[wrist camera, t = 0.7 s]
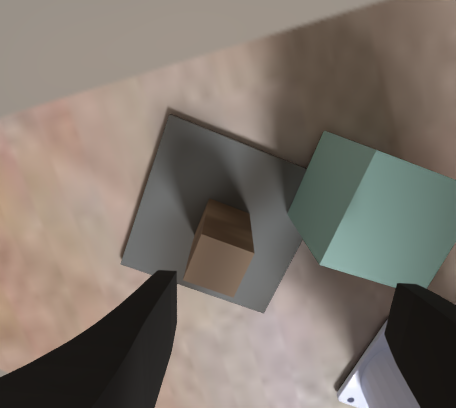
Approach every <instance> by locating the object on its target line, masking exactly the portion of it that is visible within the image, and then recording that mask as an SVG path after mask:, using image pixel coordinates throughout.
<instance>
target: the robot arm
mask: <svg viewBox="0 0 456 408" xmlns="http://www.w3.org/2000/svg"><path fill="white" fill-rule="evenodd" d="M176 325H177V271H169V270H158V271H156V272H155V273H154V274H153V275H152V276H151V277H150V278H149V279H148V280H147V281H145V282H144V283H143V284H142V285H141V286H140V287H139V288H138V289H137V290H136V291H135V292H134V293H132V294H131V295H130V296H129V297H128V298H127V299H126V300H124V301H123V302H122V303H121V304H120V305H119V306H117V307H116V308H115V309H114V310H112V311H111V312H110V313H109V314H107V315H106V316H105V317H104V318H102V319H101V320H100V321H98V322H97V323H96V324H94V325H93V326H91V327H90V328H88V329H87V330H85V331H84V332H82V333H81V334H79V335H78V336H76V337H75V338H73V339H72V340H70V341H68V342H67V343H65V344H63V345H62V346H60V347H58V348H56V349H54V350H53V351H51V352H49V353H47V354H45V355H44V356H42V357H40V358H38V359H36V360H35V361H33V362H31V363H29V364H27V365H25V366H23V367H21V368H19V369H17V370H15V371H13V372H11V373H9V374H6V375H4V376H2V377H0V408H154V407H155V404H156V401H157V398H158V394H159V391H160V388H161V385H162V381H163V378H164V375H165V372H166V368H167V365H168V362H169V359H170V355H171V352H172V347H173V341H174V336H175V330H176ZM350 397H351V398H350ZM337 398H338V400H339V401H340V402H343V403H346V404H349V405H352V406H355V407H358V408H456V305H454V304H453V303H451V302H449V301H448V300H446V299H444V298H442V297H441V296H439V295H437V294H435V293H433V292H432V291H430V290H428V289H426V288H424V287H422V286H420V285H417V284H409V283H397V286H396V290H395V294H394V297H393V301H392V305H391V309H390V313H389V317H388V320H387V321H386V322H385V323H384V325H383V326H382V328H381V329H380V331H379V332H378V334H377V335H376V337H375V338H374V339H373V341H372V342H371V344H370V345H369V347H368V348H367V350H366V351H365V353H364V354H363V355H362V357H361V358H360V360H359V361H358V363H357V364H356V366H355V367H354V369H353V370H352V371H351V373H350V374H349V376H348V377H347V379H346V380H345V382H344V383H343V385H342V386H341V387H340V389H339V390H338V392H337Z"/></svg>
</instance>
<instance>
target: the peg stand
mask: <svg viewBox="0 0 456 408" xmlns="http://www.w3.org/2000/svg"><path fill="white" fill-rule="evenodd" d="M306 170H307V169H306V168H304V167H301V166H299V165H296V164H294V163H291V162H289V161H286V160H284V159H281V158H279V157H276V156H274V155H271V154H269V153H266V152H264V151H262V150H259V149H257V148H254V147H252V146H249V145H247V144H244V143H242V142H239V141H237V140H234V139H232V138H229V137H227V136H224V135H222V134H219V133H217V132H214V131H212V130H209V129H207V128H205V127H202V126H200V125H197V124H195V123H192V122H190V121H187V120H185V119H182V118H180V117H177V116H175V115H172V114H169V117H168V120H167V123H166V127H165V130H164V133H163V136H162V139H161V142H160V145H159V148H158V151H157V154H156V157H155V160H154V163H153V166H152V169H151V172H150V176H149V179H148V182H147V185H146V188H145V191H144V194H143V197H142V200H141V203H140V206H139V209H138V212H137V215H136V218H135V221H134V224H133V228H132V231H131V234H130V237H129V240H128V243H127V246H126V249H125V252H124V255H123V258H122V261H121V265H124V266H127V267H130V268H133V269H136V270H139V271H142V272H145V273H148V274H151V275H153V274H154V273H155V272H156V271H158V270H169V271H177V284H180V285H182V286H185V287H188V288H191V289H194V290H197V291H200V292H203V293H206V294H209V295H212V296H214V297H217V298H220V299H223V300H226V301H229V302H232V303H235V304H238V305H241V306H244V307H246V308H249V309H252V310H255V311H258V312H261V313H264V312H265V310H266V308H267V306H268V305H269V303H270V301H271V299H272V297H273V295H274V293H275V291H276V289H277V287H278V286H279V284H280V282H281V280H282V278H283V276H284V274H285V272H286V270H287V268H288V267H289V265H290V263H291V261H292V259H293V257H294V255H295V253H296V251H297V249H298V248H299V246H300V244H301V242H302V240H303V238H302V237H301V235H300V234H299V232H298V230H297V229H296V227H295V226H294V224H293V223H292V221H291V219H290V218H289V216H288V215H287V213H288V211H289V209H290V207H291V204H292V202H293V200H294V197H295V195H296V193H297V191H298V188H299V186H300V184H301V182H302V179H303V177H304V175H305V173H306Z"/></svg>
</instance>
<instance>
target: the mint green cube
mask: <svg viewBox="0 0 456 408" xmlns="http://www.w3.org/2000/svg"><path fill="white" fill-rule="evenodd" d="M287 215H288V216H289V218H290V219H291V221H292V223H293V224H294V226H295V227H296V229H297V230H298V232H299V234H300V235H301V237H302V238H303V240H304V241H305V243H306V245H307V246H308V248H309V249H310V251H311V252H312V254H313V256H314V257H315V259H316V260H317V262H318V263H319V265H321V266H325V267H328V268H331V269H335V270H338V271H341V272H345V273H348V274H351V275H355V276H358V277H361V278H364V279H368V280H371V281H374V282H378V283H381V284H384V285H388V286H391V287H394V288H396V286H397V283H409V284H417V285H420V286H422V287H424V288H426V289H427V287H428V286H429V284H430V282H431V281H432V279H433V278H434V276H435V274H436V273H437V271H438V270H439V268H440V266H441V265H442V263H443V262H444V260H445V258H446V257H447V255H448V254H449V252H450V250H451V249H452V247H453V246H454V244H455V242H456V180H454V179H452V178H449V177H446V176H444V175H441V174H439V173H436V172H433V171H431V170H428V169H425V168H423V167H420V166H417V165H415V164H412V163H410V162H407V161H404V160H402V159H399V158H396V157H394V156H391V155H389V154H386V153H383V152H381V151H378V150H375V149H373V148H370V147H367V146H365V145H362V144H359V143H356V142H354V141H351V140H348V139H346V138H343V137H340V136H338V135H335V134H332V133H330V132H327V131H324V132H323V134H322V136H321V139H320V141H319V143H318V145H317V148H316V150H315V152H314V154H313V157H312V159H311V161H310V163H309V166H308V168H307V170H306V173H305V175H304V177H303V179H302V182H301V184H300V186H299V188H298V191H297V193H296V195H295V197H294V200H293V202H292V204H291V207H290V209H289V211H288V213H287Z"/></svg>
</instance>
